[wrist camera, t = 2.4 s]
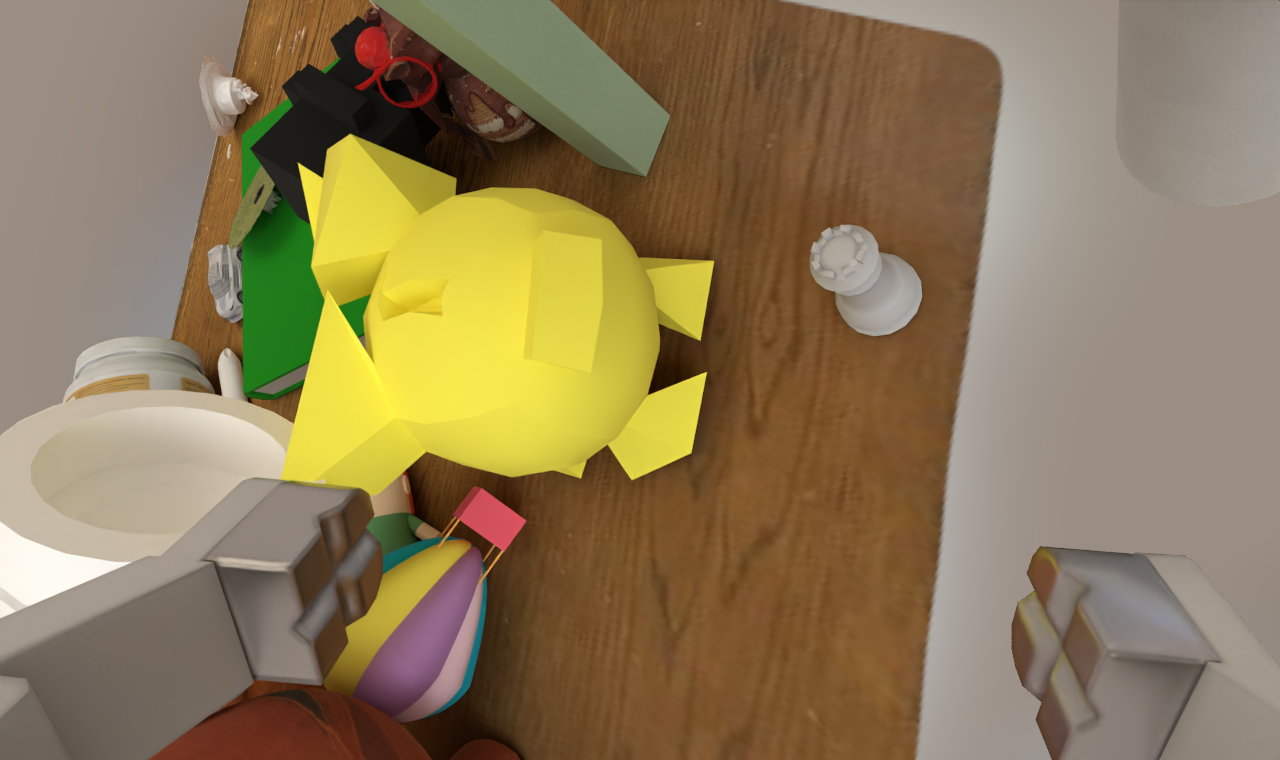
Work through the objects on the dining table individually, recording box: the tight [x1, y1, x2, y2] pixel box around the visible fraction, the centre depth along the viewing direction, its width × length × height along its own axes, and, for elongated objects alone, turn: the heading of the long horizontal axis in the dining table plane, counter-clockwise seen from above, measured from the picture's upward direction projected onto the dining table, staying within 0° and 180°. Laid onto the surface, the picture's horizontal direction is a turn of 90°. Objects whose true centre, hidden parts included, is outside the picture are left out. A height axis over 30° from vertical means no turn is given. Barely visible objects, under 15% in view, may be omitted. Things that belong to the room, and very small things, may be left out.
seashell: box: [199, 54, 259, 137], centre depth 80 cm, size 8×5×8 cm
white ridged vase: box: [0, 390, 326, 714], centre depth 36 cm, size 13×13×18 cm
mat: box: [228, 165, 281, 250], centre depth 68 cm, size 11×11×2 cm
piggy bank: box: [280, 134, 714, 496], centre depth 41 cm, size 20×20×19 cm
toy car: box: [208, 245, 243, 323], centre depth 74 cm, size 4×8×3 cm, turn 12°
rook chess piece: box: [810, 224, 922, 336], centre depth 37 cm, size 4×4×8 cm
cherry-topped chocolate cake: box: [355, 0, 543, 161], centre depth 51 cm, size 9×8×15 cm
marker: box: [218, 348, 248, 402], centre depth 70 cm, size 18×2×2 cm, turn 26°
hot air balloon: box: [323, 486, 526, 723], centre depth 47 cm, size 11×15×11 cm
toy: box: [250, 16, 453, 225], centre depth 54 cm, size 12×8×15 cm
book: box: [242, 58, 371, 400], centre depth 67 cm, size 22×28×3 cm
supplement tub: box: [63, 336, 215, 403], centre depth 68 cm, size 12×12×17 cm
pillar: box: [371, 0, 670, 177], centre depth 42 cm, size 4×4×22 cm
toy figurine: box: [366, 471, 442, 556], centre depth 55 cm, size 8×4×12 cm
